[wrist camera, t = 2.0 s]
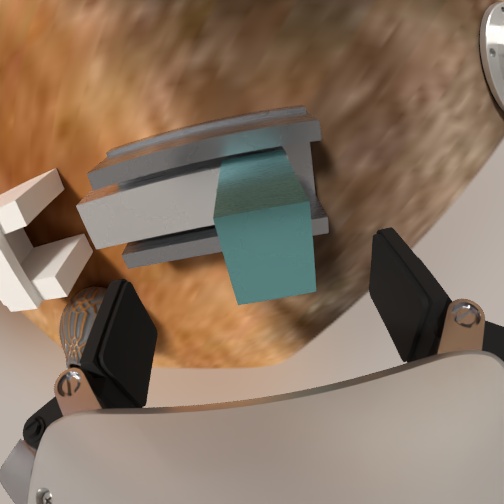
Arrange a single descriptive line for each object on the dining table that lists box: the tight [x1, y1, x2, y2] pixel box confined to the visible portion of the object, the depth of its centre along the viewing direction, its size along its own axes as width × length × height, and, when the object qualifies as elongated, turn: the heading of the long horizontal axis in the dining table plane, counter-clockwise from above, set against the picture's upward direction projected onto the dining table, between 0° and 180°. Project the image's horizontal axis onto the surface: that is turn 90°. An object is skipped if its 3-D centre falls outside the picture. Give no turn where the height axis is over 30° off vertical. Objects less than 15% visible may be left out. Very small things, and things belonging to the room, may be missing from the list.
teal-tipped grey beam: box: [76, 146, 316, 305], centre depth 16 cm, size 14×4×10 cm, turn 100°
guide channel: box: [87, 105, 329, 269], centre depth 19 cm, size 14×8×4 cm, turn 100°
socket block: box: [0, 168, 93, 312], centre depth 19 cm, size 9×8×7 cm
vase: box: [59, 287, 107, 369], centre depth 24 cm, size 7×7×9 cm
